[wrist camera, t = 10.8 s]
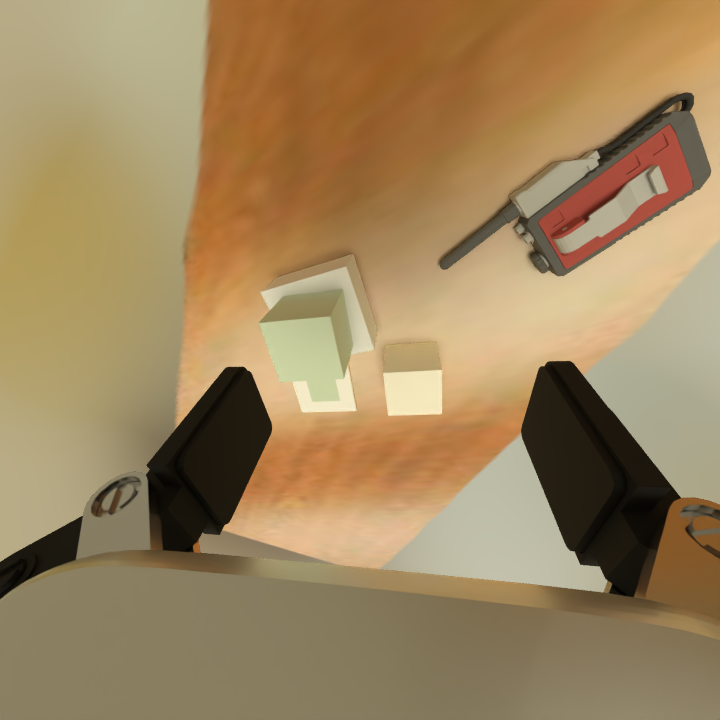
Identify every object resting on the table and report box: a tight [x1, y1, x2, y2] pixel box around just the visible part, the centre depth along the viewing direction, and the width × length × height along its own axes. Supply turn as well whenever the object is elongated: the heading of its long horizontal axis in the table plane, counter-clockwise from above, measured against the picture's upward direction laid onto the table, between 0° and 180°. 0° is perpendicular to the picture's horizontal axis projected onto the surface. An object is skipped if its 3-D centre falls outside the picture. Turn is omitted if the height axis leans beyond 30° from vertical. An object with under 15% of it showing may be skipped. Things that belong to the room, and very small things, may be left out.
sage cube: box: [259, 290, 353, 382], centre depth 27 cm, size 6×6×6 cm
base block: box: [261, 254, 377, 355], centre depth 32 cm, size 9×9×5 cm
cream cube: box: [383, 342, 442, 416], centre depth 35 cm, size 6×6×6 cm
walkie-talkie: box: [440, 93, 711, 276], centre depth 25 cm, size 9×4×20 cm
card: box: [293, 365, 357, 412], centre depth 40 cm, size 8×8×1 cm
